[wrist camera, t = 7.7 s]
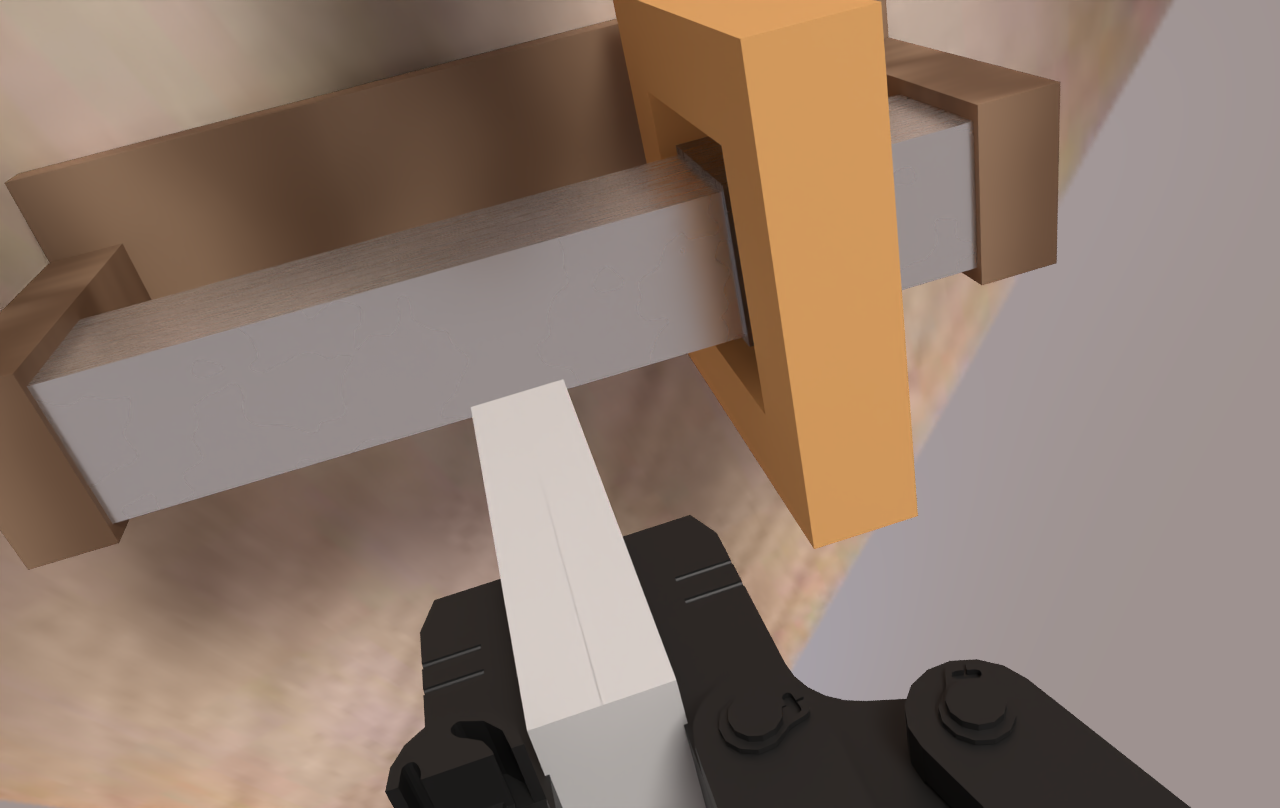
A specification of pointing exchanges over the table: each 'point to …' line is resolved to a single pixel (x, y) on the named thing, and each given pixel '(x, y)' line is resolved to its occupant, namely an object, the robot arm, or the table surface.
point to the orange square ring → (796, 237)
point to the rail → (446, 320)
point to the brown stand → (401, 205)
